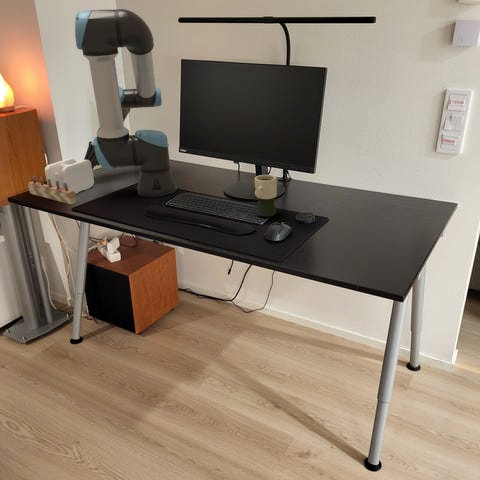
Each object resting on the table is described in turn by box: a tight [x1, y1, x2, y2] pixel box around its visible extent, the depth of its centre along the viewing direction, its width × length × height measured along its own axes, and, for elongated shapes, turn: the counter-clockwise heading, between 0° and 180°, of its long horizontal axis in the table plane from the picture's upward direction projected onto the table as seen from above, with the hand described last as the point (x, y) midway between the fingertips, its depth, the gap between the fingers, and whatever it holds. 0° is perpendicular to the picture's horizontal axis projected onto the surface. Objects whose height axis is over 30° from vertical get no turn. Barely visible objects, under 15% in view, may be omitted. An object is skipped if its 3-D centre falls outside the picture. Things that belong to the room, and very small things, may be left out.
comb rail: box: [27, 175, 78, 205], centre depth 187 cm, size 26×2×7 cm, turn 55°
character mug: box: [254, 174, 278, 217], centre depth 161 cm, size 11×7×13 cm, turn 153°
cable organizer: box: [44, 157, 95, 195], centre depth 194 cm, size 15×11×12 cm
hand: (83, 178), depth 200 cm, fingers closed
